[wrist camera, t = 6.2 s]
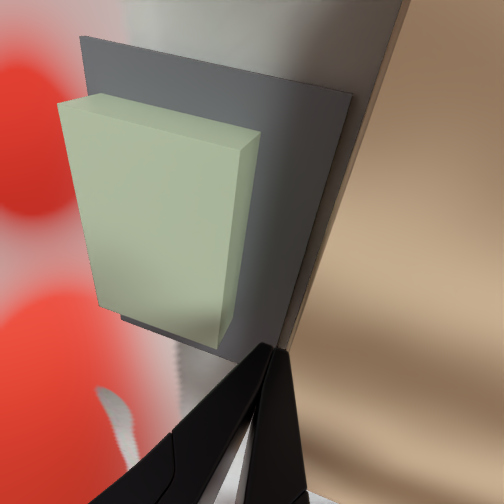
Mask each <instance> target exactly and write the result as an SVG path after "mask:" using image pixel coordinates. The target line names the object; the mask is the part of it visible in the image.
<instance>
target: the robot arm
mask: <svg viewBox="0 0 504 504" xmlns="http://www.w3.org/2000/svg"><path fill="white" fill-rule="evenodd" d="M273 350H274V351H273ZM253 414H254V415H253ZM252 417H253V418H252ZM251 419H252V421H251ZM250 422H251V426H250V430H249V435H248V440H247V445H246V450H245V455H244V460H243V465H242V470H241V475H240V480H239V485H238V490H237V495H236V501H235V504H310V502H309V494H308V491H306V490H307V481H306V473H305V466H304V458H303V451H302V444H301V436H300V429H299V421H298V414H297V407H296V399H295V392H294V384H293V377H292V369H291V362H290V355H289V352H288V351H286V350H283V349H281V348H278V347H276V348H274V347H273V346H272V345H270V344H267V343H264V342H260V343H259V344H258V345H257V346H256V347H255V348H254V349H253V350H252V351H251V352H250V353H249V354H248V355H247V356H246V357H245V358H244V359H243V360H242V361H241V362H240V363H239V364H238V365H237V366H236V367H235V368H234V369H233V370H232V371H231V372H230V373H229V374H228V375H227V376H226V377H225V378H224V379H223V380H222V381H221V382H220V383H219V384H218V385H217V386H216V387H215V388H214V389H213V390H212V391H211V392H210V393H209V394H208V395H207V396H206V397H205V398H204V399H203V400H202V401H201V402H200V403H199V404H198V405H197V406H196V407H195V408H194V409H193V410H192V411H191V412H190V413H189V414H188V415H187V416H186V417H185V418H184V419H183V420H182V421H181V422H180V423H179V424H178V425H177V426H176V427H175V428H174V429H173V430H172V433H168V434H167V435H166V436H165V437H164V439H162V440H161V441H160V442H159V443H158V445H156V446H155V447H154V448H153V449H152V450H151V451H150V452H149V453H148V454H147V455H146V456H145V457H144V458H142V459H141V460H140V461H139V462H138V463H137V464H136V465H135V466H133V467H132V468H131V469H130V470H129V471H128V472H126V473H125V474H124V475H123V476H122V477H120V478H119V479H118V480H117V481H116V482H114V483H113V484H112V485H111V486H109V487H108V488H107V489H106V490H104V491H103V492H102V493H101V494H100V495H98V496H97V497H96V498H94V499H93V500H92V501H91V502H90V503H88V504H214V501H215V499H216V497H217V495H218V493H219V490H220V488H221V486H222V484H223V482H224V480H225V477H226V475H227V473H228V471H229V469H230V466H231V464H232V462H233V460H234V458H235V456H236V453H237V451H238V449H239V447H240V445H241V442H242V440H243V438H244V436H245V434H246V432H247V429H248V427H249V425H250Z"/></svg>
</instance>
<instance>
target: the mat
mask: <svg viewBox="0 0 504 504" xmlns="http://www.w3.org/2000/svg"><path fill="white" fill-rule="evenodd" d="M80 44H81V50H82V57H83V64H84V71H85V78H86V85H87V91H88V96H90V95H94V94H99V93H103V94H107V95H111V96H115V97H119V98H123V99H127V100H132V101H136V102H140V103H144V104H148V105H152V106H156V107H160V108H165V109H169V110H173V111H177V112H181V113H185V114H189V115H194V116H198V117H202V118H206V119H210V120H214V121H218V122H223V123H227V124H231V125H235V126H239V127H243V128H247V129H252V130H256V131H260V132H261V135H260V142H259V148H258V155H257V162H256V168H255V175H254V181H253V188H252V195H251V201H250V208H249V215H248V221H247V228H246V234H245V241H244V248H243V254H242V261H241V267H240V274H239V281H238V287H237V294H236V300H235V307H234V314H233V319H232V321H231V323H230V325H229V327H228V329H227V330H226V332H225V334H224V336H223V338H222V340H221V342H220V344H219V346H218V348H217V349H214V348H211V347H208V346H206V345H203V344H200V343H198V342H195V341H192V340H189V339H187V338H184V337H181V336H179V335H176V334H173V333H170V332H168V331H165V330H162V329H160V328H157V327H154V326H151V325H149V324H146V323H143V322H140V321H138V320H135V319H132V318H130V317H127V316H124V315H121V314H120V315H121V320H123V321H126V322H129V323H131V324H134V325H136V326H139V327H142V328H144V329H147V330H150V331H152V332H155V333H158V334H161V335H163V336H166V337H169V338H171V339H174V340H176V341H179V342H182V343H184V344H187V345H190V346H192V347H195V348H198V349H200V350H203V351H206V352H208V353H211V354H214V355H216V356H219V357H222V358H224V359H227V360H230V361H232V362H235V363H238V364H239V363H240V362H241V361H242V360H243V359H244V358H245V357H246V356H247V355H248V354H249V353H250V352H251V351H252V350H253V349H254V348H255V347H256V346H257V345H258V344H259V343H260V342H264V343H267V344H270V345H272V346H273V347H274V348H276V346H277V343H278V339H279V336H280V333H281V329H282V326H283V323H284V319H285V316H286V313H287V310H288V306H289V303H290V300H291V296H292V293H293V290H294V286H295V283H296V280H297V276H298V273H299V270H300V267H301V263H302V260H303V257H304V253H305V250H306V247H307V243H308V240H309V237H310V234H311V230H312V227H313V224H314V220H315V217H316V214H317V210H318V207H319V204H320V200H321V197H322V194H323V191H324V187H325V184H326V181H327V177H328V174H329V171H330V167H331V164H332V161H333V158H334V154H335V151H336V148H337V144H338V141H339V138H340V134H341V131H342V128H343V125H344V121H345V118H346V115H347V111H348V108H349V105H350V101H351V98H352V95H353V94H351V93H347V92H342V91H337V90H333V89H328V88H323V87H319V86H314V85H310V84H305V83H300V82H296V81H291V80H287V79H282V78H277V77H273V76H268V75H264V74H259V73H254V72H250V71H245V70H241V69H236V68H231V67H227V66H222V65H218V64H213V63H208V62H204V61H199V60H195V59H190V58H185V57H181V56H176V55H172V54H167V53H162V52H158V51H153V50H149V49H144V48H139V47H135V46H130V45H126V44H121V43H116V42H112V41H106V40H102V39H98V38H93V37H89V36H80ZM273 351H274V350H273Z"/></svg>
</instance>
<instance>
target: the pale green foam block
mask: <svg viewBox="0 0 504 504" xmlns="http://www.w3.org/2000/svg"><path fill="white" fill-rule="evenodd" d="M57 106H58V111H59V116H60V120H61V125H62V130H63V135H64V140H65V144H66V149H67V154H68V158H69V164H70V168H71V173H72V178H73V183H74V188H75V192H76V198H77V202H78V207H79V212H80V217H81V221H82V226H83V231H84V236H85V240H86V246H87V250H88V255H89V260H90V265H91V270H92V275H93V279H94V284H95V289H96V294H97V299H98V303H99V306H100V307H102V308H105V309H108V310H111V311H113V312H116V313H119V314H121V315H124V316H127V317H130V318H132V319H135V320H138V321H140V322H143V323H146V324H149V325H151V326H154V327H157V328H160V329H162V330H165V331H168V332H170V333H173V334H176V335H179V336H181V337H184V338H187V339H189V340H192V341H195V342H198V343H200V344H203V345H206V346H208V347H211V348H214V349H217V348H218V346H219V344H220V342H221V340H222V338H223V336H224V334H225V332H226V330H227V329H228V327H229V325H230V323H231V321H232V319H233V314H234V307H235V300H236V294H237V287H238V281H239V274H240V267H241V261H242V254H243V248H244V241H245V234H246V228H247V221H248V215H249V208H250V201H251V195H252V188H253V181H254V175H255V168H256V162H257V155H258V148H259V142H260V135H261V132H260V131H256V130H252V129H247V128H243V127H239V126H235V125H231V124H227V123H223V122H218V121H214V120H210V119H206V118H202V117H198V116H194V115H189V114H185V113H181V112H177V111H173V110H169V109H165V108H160V107H156V106H152V105H148V104H144V103H140V102H136V101H132V100H127V99H123V98H119V97H115V96H111V95H107V94H103V93H99V94H94V95H90V96H86V97H83V98H78V99H74V100H70V101H66V102H62V103H58V104H57Z"/></svg>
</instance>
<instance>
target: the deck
mask: <svg viewBox="0 0 504 504" xmlns="http://www.w3.org/2000/svg"><path fill="white" fill-rule="evenodd" d="M286 351H288V352H289V355H290V362H291V369H292V377H293V384H294V392H295V399H296V407H297V414H298V421H299V429H300V436H301V444H302V451H303V458H304V466H305V473H306V481H307V490H308V491H311V492H313V493H315V494H318V495H320V496H322V497H325V498H327V499H329V500H332V501H334V502H336V503H339V504H504V0H403V1H402V4H401V7H400V10H399V13H398V16H397V19H396V22H395V25H394V28H393V31H392V34H391V37H390V40H389V42H388V45H387V48H386V51H385V54H384V57H383V60H382V63H381V66H380V69H379V72H378V75H377V78H376V81H375V84H374V87H373V90H372V93H371V96H370V99H369V102H368V105H367V108H366V111H365V114H364V117H363V120H362V123H361V126H360V129H359V132H358V135H357V138H356V141H355V144H354V147H353V150H352V153H351V156H350V159H349V162H348V165H347V168H346V171H345V174H344V177H343V180H342V183H341V186H340V189H339V192H338V195H337V198H336V201H335V204H334V207H333V210H332V213H331V216H330V219H329V222H328V225H327V228H326V231H325V234H324V237H323V240H322V243H321V246H320V249H319V252H318V255H317V258H316V261H315V264H314V267H313V270H312V273H311V276H310V279H309V282H308V285H307V288H306V291H305V294H304V297H303V300H302V303H301V306H300V309H299V312H298V315H297V318H296V321H295V324H294V327H293V330H292V333H291V336H290V339H289V342H288V345H287V348H286Z"/></svg>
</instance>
